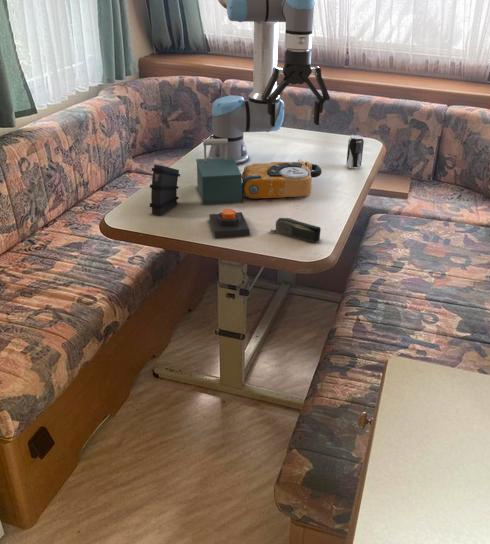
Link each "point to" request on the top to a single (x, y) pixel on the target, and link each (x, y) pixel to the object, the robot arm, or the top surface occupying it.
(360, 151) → the beverage can
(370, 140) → the top surface
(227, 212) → the button
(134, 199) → the top surface
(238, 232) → the control block
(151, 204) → the magazine
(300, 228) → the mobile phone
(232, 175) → the lid
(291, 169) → the device
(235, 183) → the teal rectangular block
